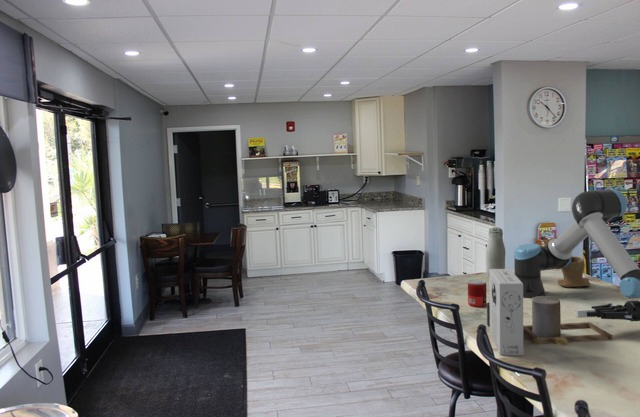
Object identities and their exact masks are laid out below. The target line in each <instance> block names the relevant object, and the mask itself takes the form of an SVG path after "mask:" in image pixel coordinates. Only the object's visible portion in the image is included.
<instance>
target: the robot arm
mask: <svg viewBox="0 0 640 417" xmlns="http://www.w3.org/2000/svg"><path fill="white" fill-rule="evenodd" d="M627 204H628V200H627V198H626V196H625V195H624V194H623V193H622V192H621V191H620V190H618V189H613V188H612V189H611V188H609V189H608V188H607V189H599V190H585V191H583V192H580V193H579V194H578V195H577V196H575V197H574V199H573V202H572V204H571V212H572V216H573V218H574V220H573V221H572V222H571V223H570V224H569V225H568V226H567V227H566V228H565V229H564V230H563V231H562V232H561V233H560V235H559V236H558V237H557V238H551V239H550V240H549V241H548V242H547V243H546V244H545V245H540V244H537V243H523V244H519V245H518V246H516V247H515V248H514V255H513V257H514V274H515V275H516V276H517V277H518V279H519V280H520V281H521V282H522V283H523V298H528V299H529V298H531V299H532V298H533V297H537V296H546V295H545V294H546V293H545V292H546V290H545V287H544V285H543V281H542V276H541V275H542V274H541V272H543V271H548V270H549V271H550V270H562V269H561V268H564V267H566V266H568V265H569V264H570V262H571V258H572V256H573V251H574V250H575V249H576V248H577V247H578V246H579V245H580V244H581V243H582V242H583V241H584V240H586V238H588V237H589V238H590V239H591V240H592V242H593V243H594V244H595V246H596V247H597V249H598V250H599V251H600V253H601V254H602V255H603V257H604V259H605V260H606V261H607V263H608V265H610V267H611V269H612V270H613V271H614V273H615V274H616V275H617V277H618V278H619V280H620V282H619V290H620V293H621V294H622V295H623V296H624V297H625V298H628V299H640V267H639V266H638V265H637V263H636V262H635V261H634V259H633V258H632V257H631V255H630V254H629V253H628V251H627V250H626V248H625V247H624V246H623V244H622V243H621V241H620V240H619V239H618V237H617V236H616V235H615V234H614V233H613V231H612V229H611V228H610V227H609V226H608V225H607V224H608V223H609V222H610V221H611V220H612V219H613V218H620V217H622V216H623V215H625V214H626V212H627V209H628V205H627ZM575 318H577V319H582V318H584V319H585V318H598V319H599V318H600V319H601V320H619V321H620V320H625V321H630V322H640V300H628V301H626V302H625V303H624V305H622V304H617V305H613V303H606V304H601V305H593V306H591V308H585V309H584V308H579V309H575Z"/></svg>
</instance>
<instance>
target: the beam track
mask: <svg viewBox="0 0 640 417" xmlns="http://www.w3.org/2000/svg"><path fill="white" fill-rule="evenodd" d="M581 328H582V329H583V328H589V329H591V330H593V331H594V332H596V333H597V334H586V335H583V334H582V335H567V336H566V335H565V336H563V335H562V336H561V337H544V338H539V337H537V335H536V334H534V333H533V332H532V324H530V325H529V324H527V325H524V324H523V338H525V339H526V340H528V341H529V342H530V343H531V344H533V345H535V344H536V345H538V344H551V343H552V344H556V345H557V346H565V345H567V344H568V343H571V342H574V341H575V342H588V341H589V342H590V341H608V340H609V341H610V340H613V335H612V334H611V333H609V332H608V331H606V330H604V329H603V328H601V327H599V326H597V325H595V324H593V323H592V322H590V321H587V322H585V321H584V322H569V323H566V322H565V323H561V330H562V329H563V330H565V329H581Z"/></svg>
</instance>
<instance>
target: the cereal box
mask: <svg viewBox="0 0 640 417" xmlns="http://www.w3.org/2000/svg"><path fill="white" fill-rule="evenodd" d="M488 279H489V280H488V281H489V284H488V285H489V287H488V288H489V296H490V301H489V302H490V327H489V334H490V336H491V338H492V341H493V343H494V345H495V346H496V350H497V351H498V353H499V355H500V356H520V357H523V356H524V336H523V325H524V297H523V283H522V282H521V281H520V280H519V279H518V277H517V276H516V275H515V272H514V271H513V270H512V269H510V268H505V269H490V270H489V277H488Z"/></svg>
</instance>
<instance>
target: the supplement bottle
mask: <svg viewBox="0 0 640 417" xmlns="http://www.w3.org/2000/svg"><path fill="white" fill-rule="evenodd" d="M488 298H489V299H488V301H489V302H488V303H486V325H487V326H488V327H489V328H490V295H489V297H488Z"/></svg>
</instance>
